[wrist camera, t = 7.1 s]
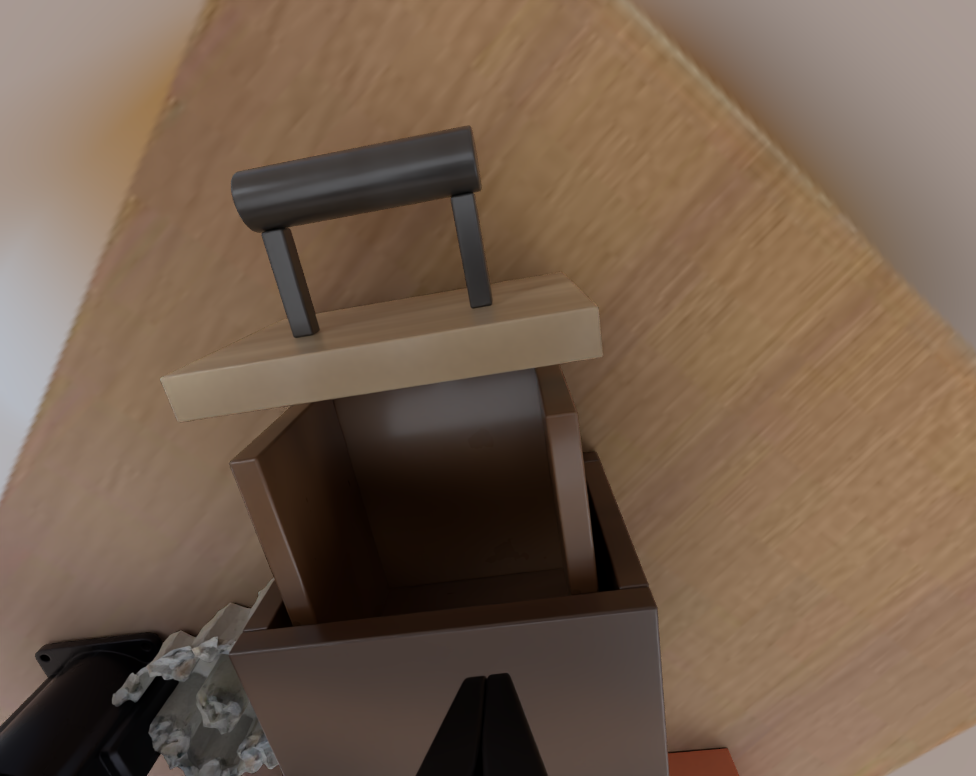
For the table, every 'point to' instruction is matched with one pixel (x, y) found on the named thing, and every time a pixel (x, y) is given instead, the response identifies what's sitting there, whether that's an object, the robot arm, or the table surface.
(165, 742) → the egg carton
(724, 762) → the block
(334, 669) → the cabinet
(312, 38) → the table surface
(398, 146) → the drawer
